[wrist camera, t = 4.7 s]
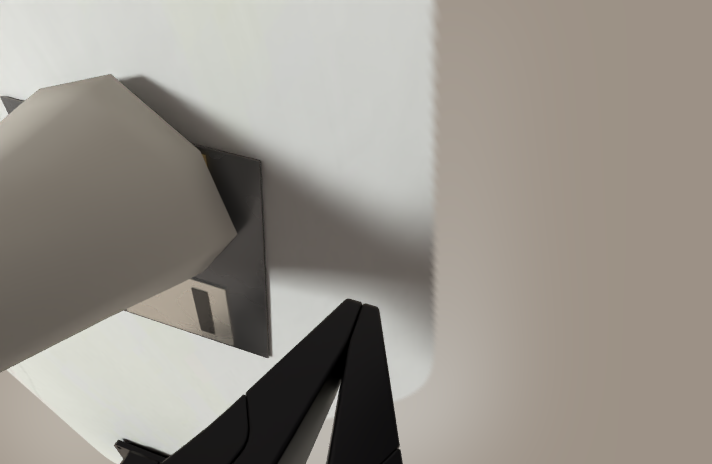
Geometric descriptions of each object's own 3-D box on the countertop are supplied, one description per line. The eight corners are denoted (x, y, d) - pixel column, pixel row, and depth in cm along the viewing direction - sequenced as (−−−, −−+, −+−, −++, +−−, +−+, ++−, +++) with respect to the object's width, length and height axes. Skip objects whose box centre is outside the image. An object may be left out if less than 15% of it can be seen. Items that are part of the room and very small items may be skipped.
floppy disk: (269, 357, 16) (266, 360, 16) (101, 301, 17) (97, 304, 17) (260, 160, 10) (257, 163, 10) (2, 95, 11) (-4, 97, 11)
